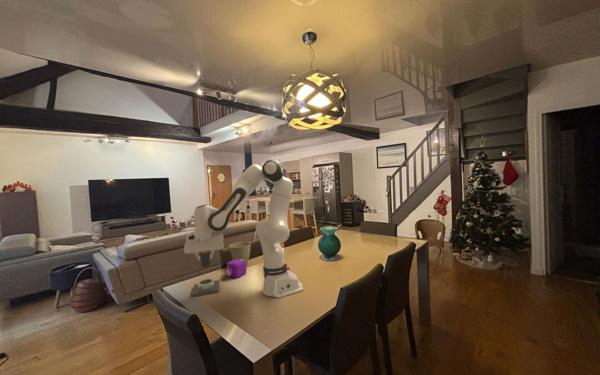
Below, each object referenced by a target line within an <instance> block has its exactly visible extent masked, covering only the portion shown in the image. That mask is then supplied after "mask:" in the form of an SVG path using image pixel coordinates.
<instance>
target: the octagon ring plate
mask: <svg viewBox="0 0 600 375" xmlns="http://www.w3.org/2000/svg"><path fill="white" fill-rule="evenodd" d="M219 292H220V279H218V280H215V279H214V278H205V279H204V278H203V279H200V280H199V281H197V283H194V285H193V288H192V292H191V298H195V297H200V296H206V295H211V294H217V293H219Z"/></svg>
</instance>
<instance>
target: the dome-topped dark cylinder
mask: <svg viewBox="0 0 600 375" xmlns="http://www.w3.org/2000/svg"><path fill="white" fill-rule="evenodd" d="M210 253H211V251H205V252H199V256H200V259H201V260H200V267H202V268H207V267H210V266H211V259H210V255H211V254H210Z"/></svg>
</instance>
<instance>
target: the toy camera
mask: <svg viewBox="0 0 600 375" xmlns="http://www.w3.org/2000/svg"><path fill="white" fill-rule="evenodd" d="M246 274H247V266H246V261H245V260H243V259H235V260H233V259H232V260H229V261H228V262H227V263H226V267H225V268H224V275H225V276H226V277H227V278H234V279H239V278H241V277H243V276H244V275H246Z"/></svg>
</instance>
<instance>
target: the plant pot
mask: <svg viewBox="0 0 600 375" xmlns="http://www.w3.org/2000/svg"><path fill="white" fill-rule="evenodd" d="M251 244H252V242H249V241H240V242H235V243H231V244H229V249H230V254H231V257H232V260H235V259H243V260H245V261H246V267H248V264H249V259H250V255H251V247H252V246H251Z"/></svg>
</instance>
